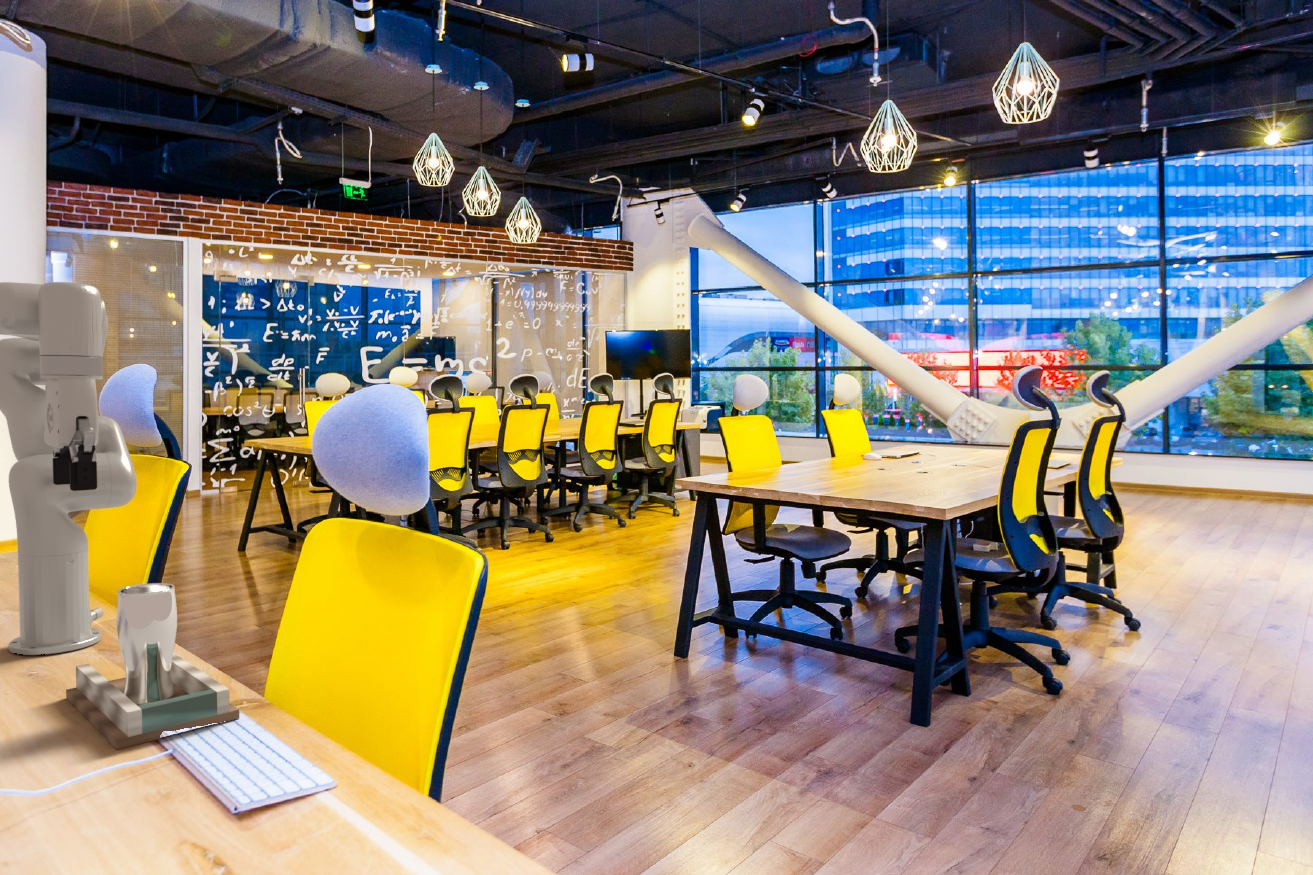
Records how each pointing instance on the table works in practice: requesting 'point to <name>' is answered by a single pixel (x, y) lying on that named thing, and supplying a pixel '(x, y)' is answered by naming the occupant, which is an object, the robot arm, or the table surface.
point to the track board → (150, 705)
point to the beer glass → (147, 640)
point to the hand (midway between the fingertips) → (74, 486)
